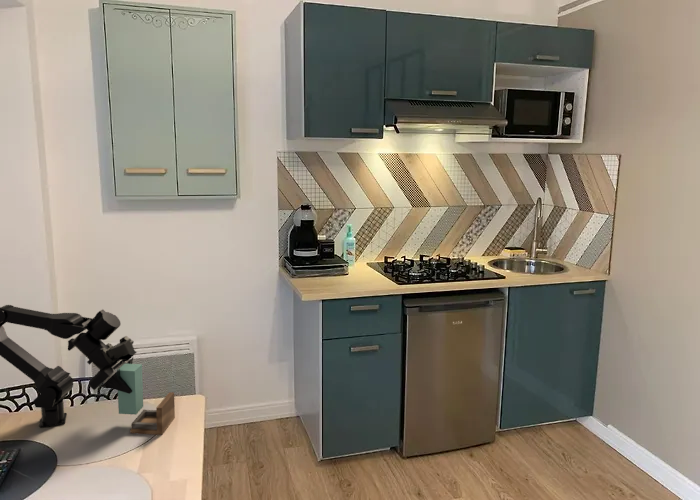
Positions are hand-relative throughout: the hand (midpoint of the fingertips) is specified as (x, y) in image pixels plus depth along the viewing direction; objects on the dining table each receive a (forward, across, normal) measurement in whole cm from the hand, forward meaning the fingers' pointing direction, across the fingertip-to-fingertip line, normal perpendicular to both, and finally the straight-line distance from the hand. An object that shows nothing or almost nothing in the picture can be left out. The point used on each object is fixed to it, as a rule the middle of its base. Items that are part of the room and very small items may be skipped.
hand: (135, 388), depth 155 cm
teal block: (+4, 0, +6) cm, 7 cm away
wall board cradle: (+11, 0, +4) cm, 12 cm away
